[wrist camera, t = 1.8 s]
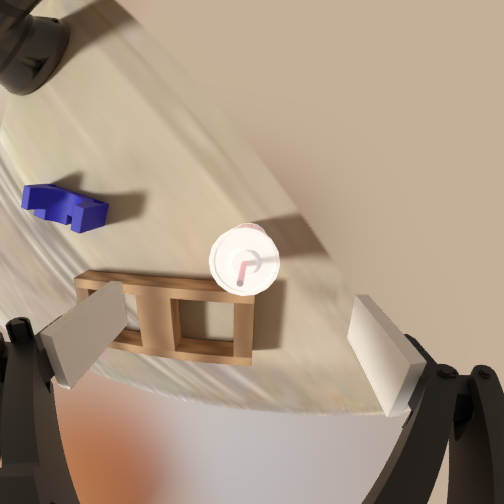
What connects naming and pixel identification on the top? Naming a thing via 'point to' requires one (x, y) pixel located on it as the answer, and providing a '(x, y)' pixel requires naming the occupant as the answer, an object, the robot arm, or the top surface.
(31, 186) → the blue notched block
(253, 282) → the beverage cup
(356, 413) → the top surface
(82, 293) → the wooden holder tray
